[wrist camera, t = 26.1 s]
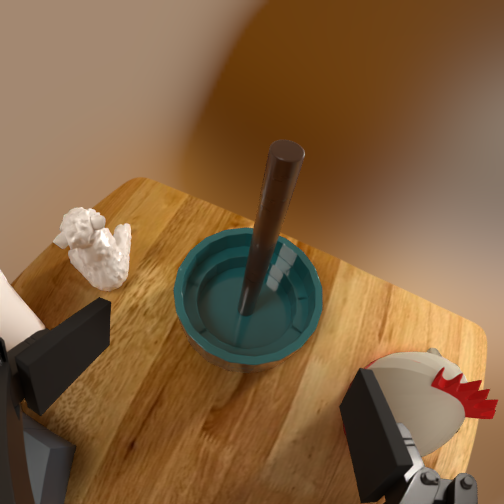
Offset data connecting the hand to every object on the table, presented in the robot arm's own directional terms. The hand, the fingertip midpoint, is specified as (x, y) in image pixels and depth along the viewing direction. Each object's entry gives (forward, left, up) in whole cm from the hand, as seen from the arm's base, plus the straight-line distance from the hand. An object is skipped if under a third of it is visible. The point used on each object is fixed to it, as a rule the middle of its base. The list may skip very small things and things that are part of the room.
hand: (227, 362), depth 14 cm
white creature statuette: (-20, 0, -18) cm, 27 cm away
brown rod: (-4, +8, -17) cm, 19 cm away
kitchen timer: (+18, +10, -18) cm, 27 cm away
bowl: (-4, +8, -17) cm, 20 cm away
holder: (-8, -25, -17) cm, 31 cm away
